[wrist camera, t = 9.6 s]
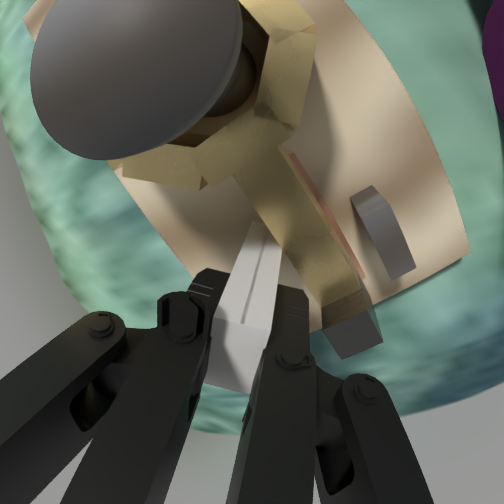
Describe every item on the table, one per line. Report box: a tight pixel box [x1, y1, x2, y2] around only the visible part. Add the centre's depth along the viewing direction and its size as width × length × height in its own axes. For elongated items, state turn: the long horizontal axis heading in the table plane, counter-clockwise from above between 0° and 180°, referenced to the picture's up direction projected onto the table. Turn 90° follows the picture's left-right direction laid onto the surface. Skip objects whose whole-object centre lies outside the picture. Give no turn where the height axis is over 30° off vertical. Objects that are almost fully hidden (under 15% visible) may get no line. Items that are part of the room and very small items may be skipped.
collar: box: [106, 0, 383, 359], centre depth 10 cm, size 16×8×5 cm, turn 34°
